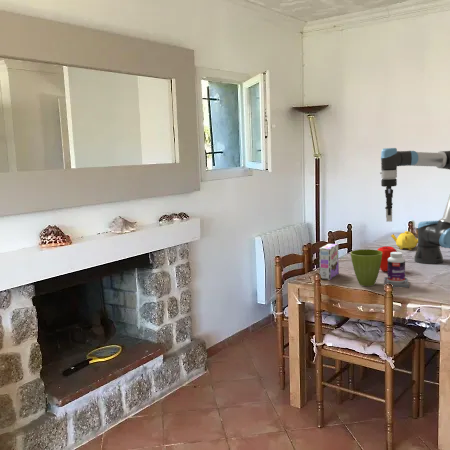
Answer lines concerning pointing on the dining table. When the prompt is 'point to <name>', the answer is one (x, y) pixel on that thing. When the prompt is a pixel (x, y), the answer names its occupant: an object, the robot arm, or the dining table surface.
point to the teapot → (405, 240)
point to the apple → (385, 256)
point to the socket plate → (404, 284)
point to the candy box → (328, 261)
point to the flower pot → (366, 265)
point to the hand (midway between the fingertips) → (389, 219)
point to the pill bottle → (396, 268)
